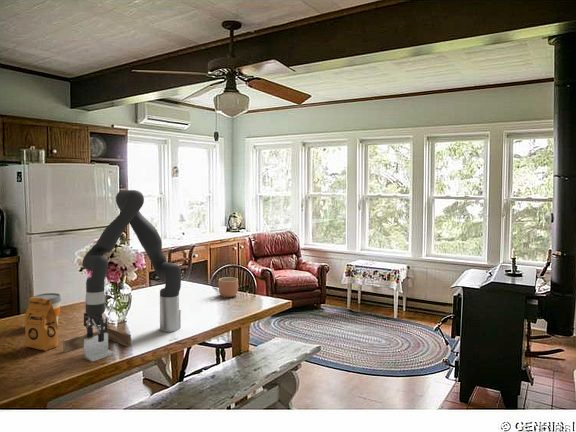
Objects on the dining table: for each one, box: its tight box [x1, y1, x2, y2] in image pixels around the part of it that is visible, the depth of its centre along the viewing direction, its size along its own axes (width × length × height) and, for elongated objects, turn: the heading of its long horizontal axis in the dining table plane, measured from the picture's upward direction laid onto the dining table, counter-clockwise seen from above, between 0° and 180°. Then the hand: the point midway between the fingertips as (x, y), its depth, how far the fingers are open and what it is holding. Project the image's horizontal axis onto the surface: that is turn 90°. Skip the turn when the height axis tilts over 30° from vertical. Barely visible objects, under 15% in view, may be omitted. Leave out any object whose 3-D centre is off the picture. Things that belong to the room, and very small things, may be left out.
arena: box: [62, 326, 132, 353], centre depth 195 cm, size 22×16×5 cm
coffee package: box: [24, 296, 59, 352], centre depth 195 cm, size 10×12×22 cm
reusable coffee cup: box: [33, 292, 62, 325], centre depth 223 cm, size 13×13×15 cm
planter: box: [218, 276, 239, 298], centre depth 285 cm, size 12×12×11 cm
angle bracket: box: [83, 333, 115, 363], centre depth 187 cm, size 10×6×8 cm, turn 144°
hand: (95, 339), depth 188 cm, fingers open, 8 cm apart
